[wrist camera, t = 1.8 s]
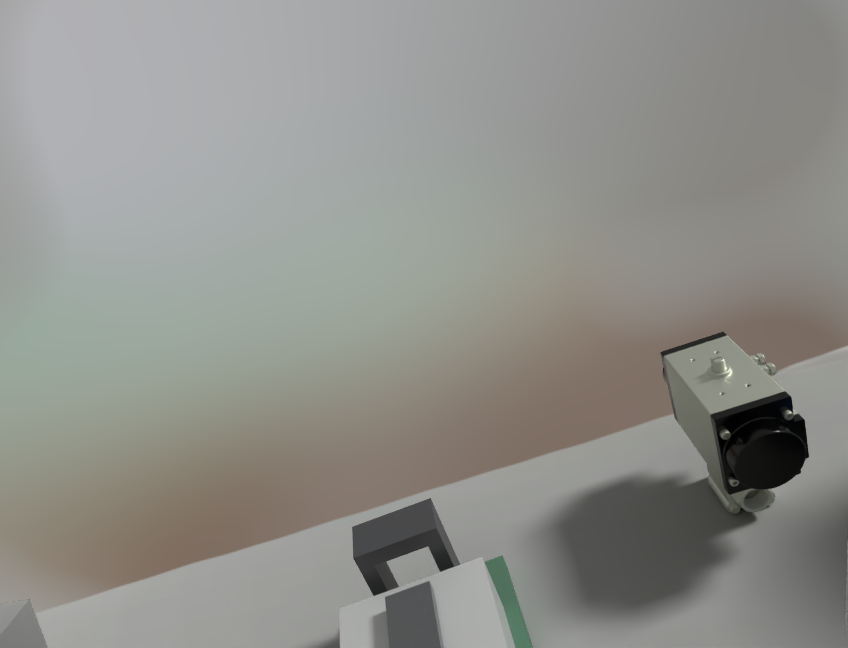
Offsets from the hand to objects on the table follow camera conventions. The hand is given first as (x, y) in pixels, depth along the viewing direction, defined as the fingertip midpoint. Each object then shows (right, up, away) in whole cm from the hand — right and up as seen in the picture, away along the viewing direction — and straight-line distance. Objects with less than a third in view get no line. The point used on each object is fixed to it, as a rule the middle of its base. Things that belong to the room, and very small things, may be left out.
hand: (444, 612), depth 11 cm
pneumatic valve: (+23, -8, +38) cm, 45 cm away
